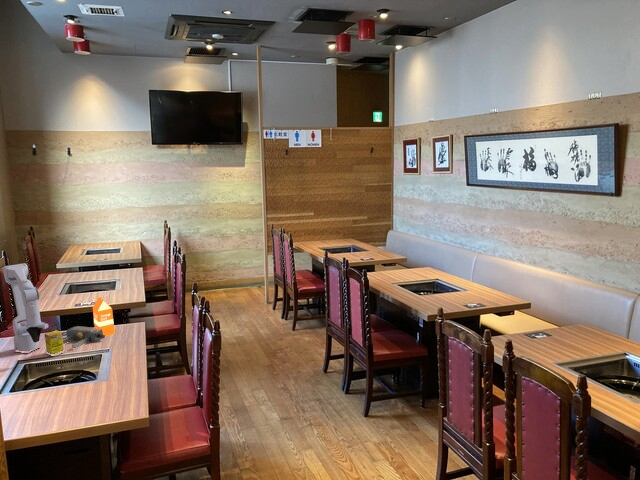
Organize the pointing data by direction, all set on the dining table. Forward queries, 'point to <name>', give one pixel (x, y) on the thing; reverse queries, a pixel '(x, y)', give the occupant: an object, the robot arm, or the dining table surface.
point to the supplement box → (54, 342)
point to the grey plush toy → (83, 335)
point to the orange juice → (103, 317)
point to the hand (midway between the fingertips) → (36, 341)
